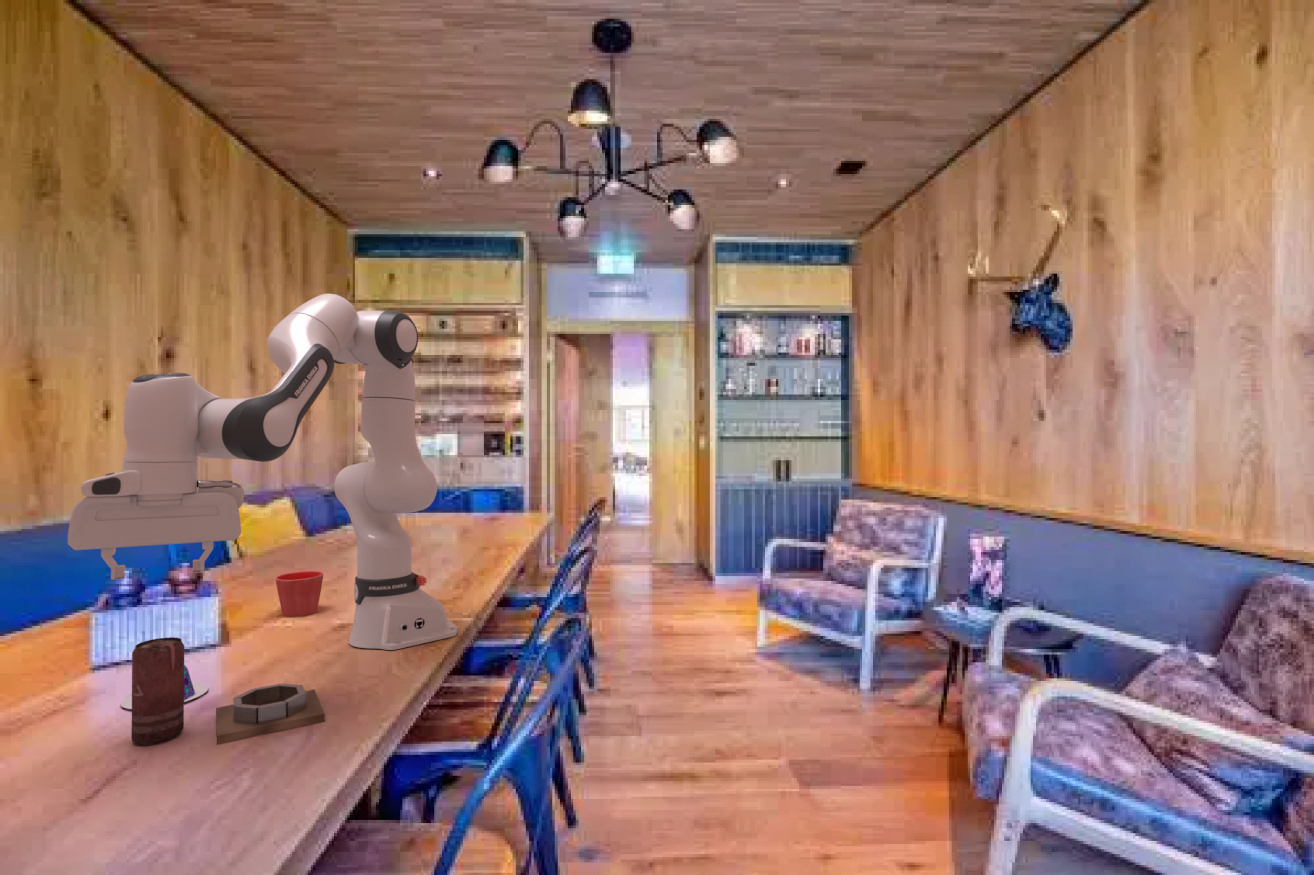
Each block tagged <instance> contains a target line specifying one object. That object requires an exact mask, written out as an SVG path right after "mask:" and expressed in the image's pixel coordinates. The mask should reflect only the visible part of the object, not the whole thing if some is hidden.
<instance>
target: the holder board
mask: <svg viewBox="0 0 1314 875" xmlns="http://www.w3.org/2000/svg"><path fill="white" fill-rule="evenodd" d="M305 692H306V708H305V709H303V710H301V711H299V712H298V713H296V714H294V715H292V716H291V717H289V718H286V719H282V720H277V721H272V722H267V723H262V724H256V725H255V724H245V723H235V722H234V718H233V704H230V705H223V706H218V707H215V734H216V735H215V737H216V738H215V739H216V745H221V744H224V743H229V742H230V743H231V742H234V741H235V742H236V741H238V740H244V739H247V738H252V737H256V736H257V737H258V736H262V735H263V736H264V735H267V734H272V733H275V732H276V733H278V732H280V731H285V730H290V729H294V728H295V729H296V728H300V727H304V726H305V727H306V726H307V725H314V724H317V723H322V722H325V720H326V719H325V718H326V717H325V716H326V715H325V710H324V708H323V706H322V704H321V701H320V700H319V697H318V694H317V692H316V690H315V689H309V690H305ZM277 702H282V701H274V702H269V703H264V704H258V705H257V706H261V705H266V704H271V703H277Z"/></svg>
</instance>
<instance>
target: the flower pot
mask: <svg viewBox="0 0 1314 875" xmlns="http://www.w3.org/2000/svg"><path fill="white" fill-rule="evenodd" d="M323 580H324V572H322V571H315V570H312V571H311V570H310V571H309V570H308V571H295V572H289V573H283V574H280V575H277V576H276V577H275V585H276V590H277V596H278V600H279V604H280V609H281V614H282V616H284V617H287V618H299V617H306V616H309V615H313V614H315V613H317V612H318V609H319V604H320V603H319V602H320V598H321V593H322V586H323Z"/></svg>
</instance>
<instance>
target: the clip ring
mask: <svg viewBox="0 0 1314 875" xmlns="http://www.w3.org/2000/svg"><path fill="white" fill-rule="evenodd" d="M305 691H306V690H305V687H304V685H302V684H293V683H277V684H272V685H265V686H260V687H255V688H252V689H249V690H247V691H245V692H243V693H240V694H238V695H236V696H234V698H232V700H233V701H232V703H233V704H232V705H233V718H234V722H235V723H245V724H255V725H256V724H262V723H267V722H272V721H277V720H282V719H286V718H289V717H291V716H292V715H294V714H296V713H298V712H299V711H301V710H303V709H305V708H306V692H305ZM274 701H282V702H277V703H271V704H266V705H261V706H257V705H258V704H264V703H269V702H274Z"/></svg>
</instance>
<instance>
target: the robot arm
mask: <svg viewBox="0 0 1314 875" xmlns="http://www.w3.org/2000/svg"><path fill="white" fill-rule="evenodd" d="M266 340H267V342H266V344H267V351H268V355H269V357H270V359H271V361H272V362H273V363H274V365H275V366H276V367H277V368H278V369H279V370H280V371H281V372H283V374H284V375H282V376H281V378H280V379H279V381H278V382H277V383H276V384H275V386H274V387H273V388H272V390H270V391H268V392H267V393H264V394H261V395H258V396H253V397H247V398H246V397H245V398H240V397H239V398H222V397H221V396H218V395H217V394H214V393H212V392H210V391H208V390H207V389H205V388H204V387H202V386H201V385H200V384H199V383H198V382H197V381H196V380H195V378H194V376H193V375H191V374H189V373H185V372H169V373H152V374H151V373H150V374H144V375H140V376H138V377H136V378H134V379H132V380H131V382H130V384H129V386H128V389H127V391H126V397H125V403H124V410H123V411H124V412H123V434H124V437H125V440H126V449H125V450H126V451H125V453H124V455H123V459H122V469H121V471H119V472H110V473H106V474H105V475H102V476H99V477H95V478H91V479H88V480H85V481H83V482H82V484H81V485H80V492H81V494H82V495H83V497H84V498H82V499H81V500H79V501H78V502H77V503H76V504H75V505H74V506H73V509H72V512H71V516H70V518H69V519H70V520H69V525H68V531H67V532H68V533H67V544H68V546H70V547H71V548H72V549H73V550H74V551H83V550H97V549H100V551H101V552H100V556H101V558H102V560H103V561H104V562H105V563H106V565H107V566H108V567H109V568H110V579H111V580H112V581H113V580H123V579H125V578H126V564H118V563H117V562H116V559H114V557H113V556H114V555H115V554H116V550H117V549H116V548H133V547H145V546H146V547H148V546H162V545H178V544H180V545H181V544H193V543H194V544H195V543H202V546H201V547H202V549H201V550H204V551H203V553H202V554H201V556H200V557H199V559H198V558H197V559H193V560H192V573H193V574H194V573H197V574H198V573H205V562H206V560H207V559H208V558H209V556H210V554H211V553H212V551H213V550H214V542H224V541H225V542H228V541H236V540H237V539H238V538H239V537H240V536H241V535H242V527H241V524H242V523H241V517H240V516H241V515H240V511H239V509H240V508H241V507H242V506H243V504H244V502H245V491H244V488H243V487H242V486H241V484H239V483H237V482H233V480H229V479H226V480H224V479H223V480H198V474H199V473H198V469H199V468H198V467H199V466H198V465H199V463H198V462H199V460H198V459H199V458H204V459H207V458H208V459H210V458H211V459H223V460H224V459H225V460H226V459H227V460H246V461H254V462H261V463H262V462H263V463H264V462H265V463H267V462H272V461H274V460H277V459H279V458H280V457H282V456H283V455H285V453H286V452H287V451H288V450H289V448H290V447H291V445H292V444H293V441H294V439H295V438H296V434H297V431H298V429H299V426H300V424H301V422H302V421H303V419H304V417H305V416H306V414H307V413H308V411H309V410H310V409H311V407H312V406H313V404H314V403H315V402H316V400H317V398H318V397H319V395H320V394H321V393H322V391H323V390H324V388H325V387H326V385H327V384H328V382H329V381H330V378H331V377H332V374H333V372H334V370H335V364H339V365H345V364H349V365H362V366H363V369H364V372H365V373H364V378H363V383H362V384H363V385H362V394H361V413H360V434H361V436H362V438H363V439H364V440H365V441H367V443H369V446H370V448H371V449H372V453H373V456H374V457H373V458H374V461H362V462H358V463H354V464H351V465H348V466H345V467H344V468H342V469H341V470H340V471H339V472H338V473H337V475H336V477H335V480H334V484H333V485H334V486H333V487H334V488H333V490H334V494H335V497H336V498H337V500H338V502H340V503H341V504H342V506H343V507H344V508H345V510H346V512H347V514H348V516H349V519H350V521H351V524H352V528H353V532H354V534H355V536H354V537H355V539H356V540H355V541H356V561H357V563H356V564H357V565H356V566H357V568H356V569H357V572H356V573H357V574H356V576H355V578H354V588H353V589H354V590H353V591H354V594H353V595H354V596H353V597H354V599H353V600H354V603H355V610H354V611H355V612H354V619H353V624H352V628H351V632H350V636H349V639H348V644H349V645H350V646H352V647H356V648H361V649H379V650H380V649H381V650H387V651H396V650H400V649H403V648H407V647H409V648H410V647H413V646H417V645H421V644H425V643H429V642H433V641H439V640H443V639H449V638H452V637H455V636H456V635H457V634H458V627H457V626H456V624H455V623H453V622H452V621H450V620H448V618H447V612H446V609H445V606H444V605H443V603H442V602H440V601H439V600H438V599H436V598H435V597H434V596H432V595H431V594H429V593H427V592H426V591H425V590H423V589H421V588H420V587H424V586H426V584H427V582H428V579H427V578H426V576H424V575H420V574H417V573H415V572H412V538H411V536H410V534H409V533H408V532H407V531H406V530H405V529H404V528H403V527H402V525H401V523H400V521H399V518H398V514H410V513H411V514H412V513H415V512H420V511H423V510H426V509H427V508H429V507H431V505H432V504H433V502H434V501H435V499H436V496H437V492H438V484H437V479H436V477H435V475H434V473H433V472H432V471H431V469H429V468H428V467H427V465H426V464H425V462H424V460H423V459H422V456H421V453H420V450H419V448H418V443H417V440H416V439H417V438H416V379H415V371H414V364H413V362H412V359H413V356H414V355H415V353H416V350H417V348H418V343H419V333H418V330H417V327H416V324H415V322H414V321H413V320H412V318H411V317H410V315H408V314H406V313H404V312H401V311H396V310H391V309H390V310H385V311H384V310H359V311H357V310H356V309H355V306H353V304H352V303H351V302H350V301H349V300H347V299H346V298H344V297H343V296H341V295H339V294H334V293H323V294H319V295H317V296H316V297H313V298H311V299H310V300H308V301H306V302H304V303H302V304H301V305H299V306H298V307H297V308H295V309H294V310H292V312H290V313H289V314H287V315H286V316H285V317H284V318H283V319H282V320H281V321H279V322H278V323H277V324H276V326H275V327H274V328H273V330H271V332H270V334H269V335H268V337H267V339H266ZM198 457H199V458H198ZM233 486H234V487H233Z"/></svg>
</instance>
